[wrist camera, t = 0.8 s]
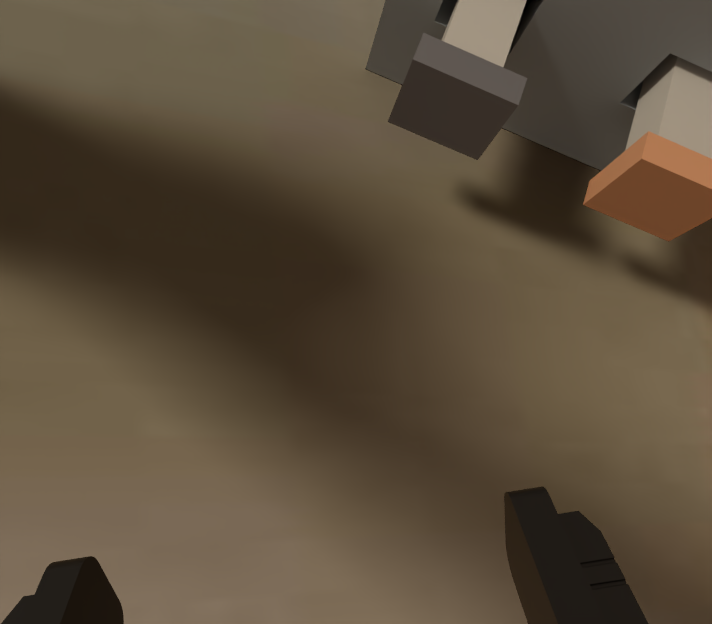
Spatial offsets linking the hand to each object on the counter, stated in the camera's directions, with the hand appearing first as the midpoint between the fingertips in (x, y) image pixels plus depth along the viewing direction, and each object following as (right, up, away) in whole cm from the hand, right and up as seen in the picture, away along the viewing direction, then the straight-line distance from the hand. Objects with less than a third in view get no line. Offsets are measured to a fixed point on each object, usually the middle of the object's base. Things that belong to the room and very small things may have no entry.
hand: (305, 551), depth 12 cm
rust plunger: (+17, +14, +21) cm, 30 cm away
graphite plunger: (+7, +18, +21) cm, 28 cm away
